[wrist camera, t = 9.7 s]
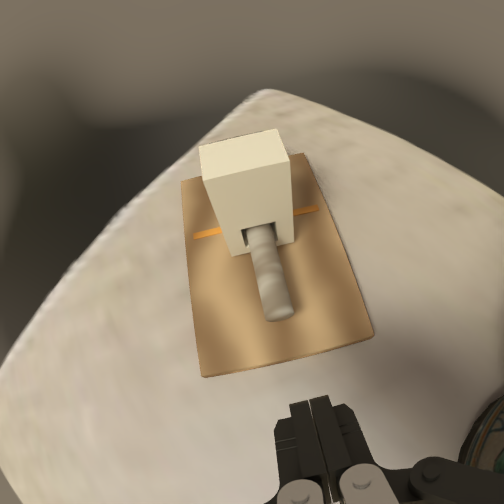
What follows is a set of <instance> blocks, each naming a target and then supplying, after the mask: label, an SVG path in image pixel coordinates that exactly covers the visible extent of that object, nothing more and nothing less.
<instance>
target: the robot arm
mask: <svg viewBox="0 0 504 504" xmlns="http://www.w3.org/2000/svg"><path fill="white" fill-rule="evenodd" d="M309 401H310V407H311V410H310V407H309V403H308V400H305V401H301V402H297V403H293V404H289V406H290V412H291V417H290V418H285V419H281V420H278V422H277V424H276V427H275V429H274V437H275V445H276V454H277V463H278V471H279V480H280V486H279V490H278V492H277V494H276V495H275V496H274V497H273V498H272V499H271V500H270V501H268V502H267V503H264V504H330V503H331V497H330V491H331V495H332V499H333V503H334V502H338V501H339V502H340V504H504V474H499V473H495V472H491V471H487V470H483V469H479V468H475V467H472V466H468V465H464V464H461V463H457V462H454V461H451V460H447V459H444V458H441V457H427V458H424V459H422V460H420V461H419V462H417V463H416V464H415V465H414V467H413V468H408V469H399V470H389V469H385V468H382V467H380V466H379V465H378V464H376V462H375V461H374V460H373V457H372V455H371V453H370V450H369V448H368V445H367V443H366V440H365V438H364V436H363V433H362V431H361V428H360V426H359V423H358V422H357V419H356V416H355V414H354V412H353V410H352V409H350V408H349V407H348V406H347V405H345V404H341V405H337V406H334V407H332V405H331V402H330V399H329V396H328V395H325V396H321V397H317V398H313V399H309ZM311 412H312V414H311ZM312 417H313V418H312ZM328 483H329V484H328ZM329 487H330V491H329Z"/></svg>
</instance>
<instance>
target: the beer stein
mask: <svg viewBox="0 0 504 504" xmlns="http://www.w3.org/2000/svg"><path fill="white" fill-rule="evenodd" d="M457 463H461V464H464V465H468V466H472V467H475V468H479V469H483V470H487V471H491V472H495V473H499V474H504V395H503V396H502V397H500V398H499V399H497V400H496V401H494V402H493V403H491V404H490V405H489V406H488V408H487V409H486V410H485V411H484V412H483V413H482V415H481V416H480V417H479V418H478V419H477V420H476V421H475V423H474V425H473V427H472V429H471V431H470V433H469V434H468V436H467V438H466V440H465V442H464V444H463V445H462V447H461V450H460V454H459V458H458V462H457Z"/></svg>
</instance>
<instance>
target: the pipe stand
mask: <svg viewBox="0 0 504 504" xmlns="http://www.w3.org/2000/svg"><path fill="white" fill-rule="evenodd" d="M260 132H263V131H260ZM255 133H258V132H255ZM251 134H253V133H251ZM246 135H249V134H246ZM242 136H244V135H242ZM237 137H240V136H237ZM233 138H235V137H233ZM229 139H231V138H229ZM225 140H227V139H225ZM221 141H223V140H221ZM217 142H219V141H217ZM213 143H215V142H213ZM209 144H211V143H209ZM288 157H289V160H290V171H291V188H292V206H293V227H294V242H292V243H288V244H284V245H280V246H276V243H275V239H274V235H273V232H272V228H271V224H270V223H267V224H262V225H258V226H254V227H249V228H245V229H246V234H247V239H248V243H249V248H250V253H246V254H241V255H237V256H233V257H232V256H231V254H230V251H229V248H228V246H227V243H226V241H225V238H224V235H223V233H222V230H221V228H220V225H219V222H218V220H217V217H216V215H215V212H214V209H213V207H212V204H211V201H210V199H209V196H208V193H207V191H206V188H205V185H204V183H203V179H202V176H199V177H195V178H192V179H188V180H184V181H181V192H182V207H183V221H184V233H185V245H186V256H187V266H188V276H189V286H190V295H191V304H192V312H193V320H194V328H195V336H196V343H197V351H198V358H199V364H200V371H201V376H202V377H204V378H208V377H214V376H220V375H225V374H231V373H236V372H241V371H246V370H251V369H256V368H261V367H265V366H270V365H274V364H279V363H283V362H287V361H292V360H296V359H300V358H304V357H308V356H312V355H316V354H319V353H323V352H327V351H331V350H334V349H338V348H341V347H345V346H348V345H352V344H355V343H358V342H362V341H365V340H368V339H371V338H372V337H373V336H374V332H373V329H372V326H371V323H370V320H369V317H368V314H367V311H366V308H365V305H364V302H363V299H362V296H361V293H360V291H359V288H358V285H357V282H356V279H355V277H354V274H353V271H352V268H351V266H350V263H349V260H348V258H347V255H346V252H345V250H344V247H343V245H342V242H341V239H340V237H339V234H338V232H337V229H336V227H335V224H334V222H333V219H332V217H331V215H330V212H329V210H328V207H327V205H326V203H325V200H324V198H323V195H322V193H321V191H320V188H319V186H318V184H317V182H316V179H315V177H314V175H313V172H312V170H311V168H310V166H309V164H308V161H307V159H306V157H305V155H304V153H300V154H295V155H290V156H288Z"/></svg>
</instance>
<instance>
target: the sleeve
mask: <svg viewBox="0 0 504 504" xmlns="http://www.w3.org/2000/svg"><path fill="white" fill-rule="evenodd" d="M199 153H200V162H201V170H202V179H203V183H204V185H205V188H206V191H207V193H208V196H209V199H210V201H211V204H212V207H213V209H214V212H215V215H216V217H217V220H218V222H219V225H220V228H221V230H222V233H223V235H224V238H225V241H226V243H227V246H228V248H229V251H230V254H231V256H232V257H233V256H237V255H241V254H246V253H250V248H249V243H248V239H247V234H246V229H245V228H249V227H254V226H258V225H262V224H267V223H270V224H271V228H272V232H273V235H274V239H275V243H276V246H280V245H284V244H288V243H292V242H294V227H293V206H292V188H291V171H290V160H289V157H288V155H287V153H286V150H285V148H284V145H283V143H282V141H281V138H280V136H279V133H278V131H277V129H272V130H267V131H263V132H258V133H253V134H249V135H244V136H240V137H235V138H231V139H227V140H223V141H219V142H215V143H211V144H207V145H203V146H199Z"/></svg>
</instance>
